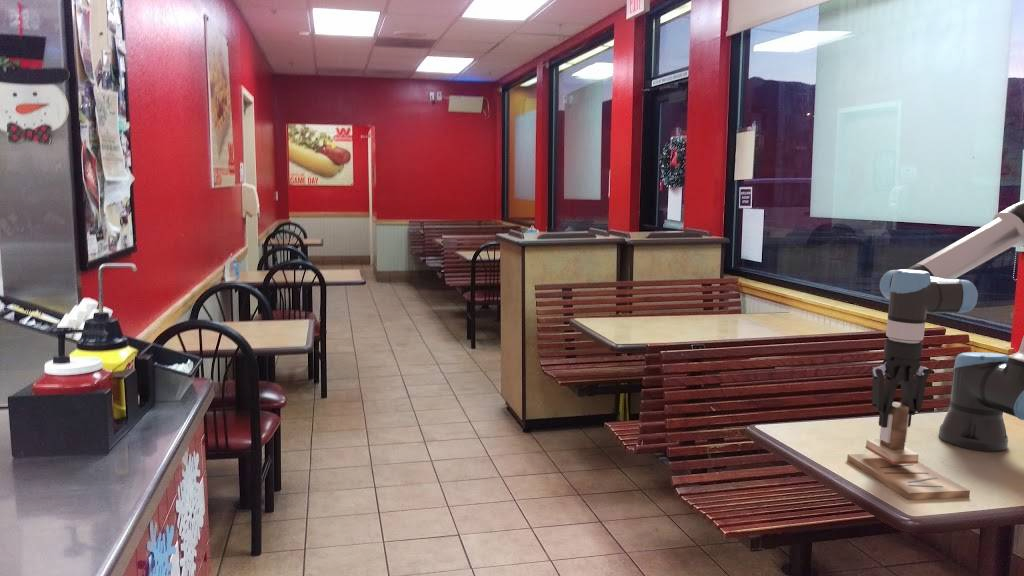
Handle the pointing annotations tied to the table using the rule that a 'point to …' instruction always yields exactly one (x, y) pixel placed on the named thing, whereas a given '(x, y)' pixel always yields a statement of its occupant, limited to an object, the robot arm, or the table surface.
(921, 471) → the board
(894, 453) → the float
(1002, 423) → the robot arm
